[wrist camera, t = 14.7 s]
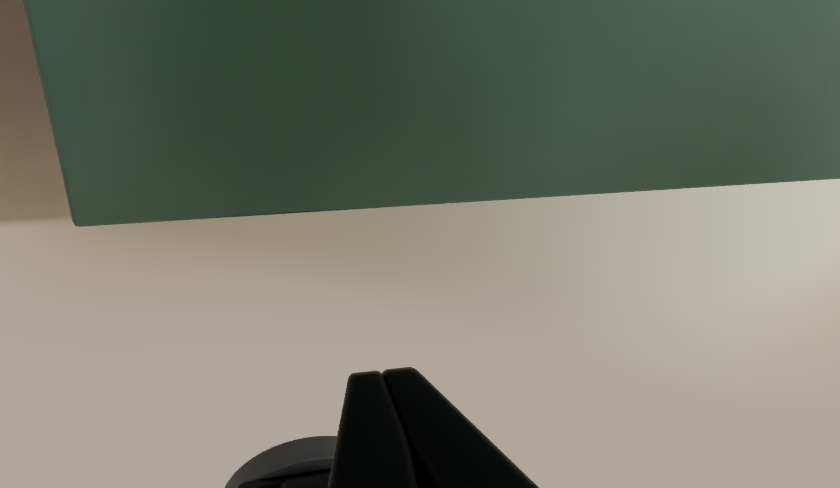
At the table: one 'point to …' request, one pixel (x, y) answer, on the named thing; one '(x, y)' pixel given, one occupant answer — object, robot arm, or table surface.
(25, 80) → the table surface
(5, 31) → the table surface
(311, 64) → the bin lid
